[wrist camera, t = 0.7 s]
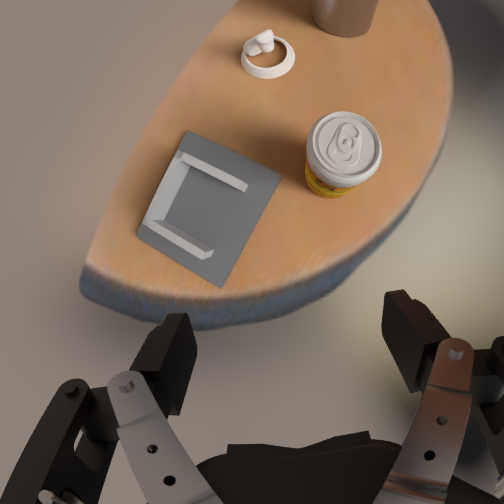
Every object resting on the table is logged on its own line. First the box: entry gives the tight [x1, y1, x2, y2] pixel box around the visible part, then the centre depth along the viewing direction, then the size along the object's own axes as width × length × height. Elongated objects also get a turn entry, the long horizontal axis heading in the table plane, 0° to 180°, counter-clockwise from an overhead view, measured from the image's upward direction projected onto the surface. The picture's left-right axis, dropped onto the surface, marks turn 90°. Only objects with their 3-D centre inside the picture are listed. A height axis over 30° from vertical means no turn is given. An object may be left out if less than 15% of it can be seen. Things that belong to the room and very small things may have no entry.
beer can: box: [305, 111, 382, 199], centre depth 27 cm, size 6×6×15 cm
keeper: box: [136, 130, 282, 289], centre depth 35 cm, size 16×14×5 cm
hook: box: [241, 30, 295, 79], centre depth 31 cm, size 8×12×7 cm
